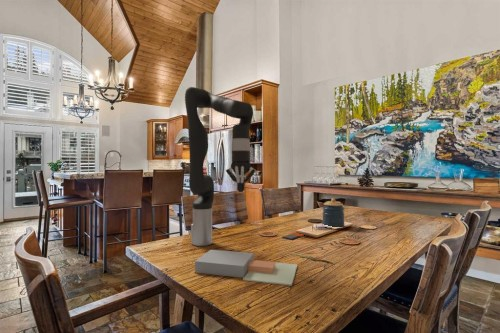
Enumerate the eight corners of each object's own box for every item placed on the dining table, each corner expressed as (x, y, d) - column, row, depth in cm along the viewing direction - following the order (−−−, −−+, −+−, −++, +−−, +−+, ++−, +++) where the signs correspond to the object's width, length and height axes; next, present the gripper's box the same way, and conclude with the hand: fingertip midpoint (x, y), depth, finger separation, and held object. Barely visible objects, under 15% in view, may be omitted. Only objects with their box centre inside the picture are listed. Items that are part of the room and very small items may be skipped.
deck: (195, 272, 99) (194, 261, 99) (210, 259, 113) (210, 249, 113) (243, 277, 95) (243, 266, 95) (253, 263, 108) (253, 253, 108)
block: (247, 271, 99) (247, 265, 99) (251, 265, 105) (251, 259, 105) (272, 273, 97) (272, 267, 97) (275, 267, 103) (275, 262, 103)
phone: (307, 233, 152) (291, 238, 141) (307, 235, 152) (291, 241, 141) (297, 231, 157) (281, 236, 145) (297, 233, 157) (281, 239, 145)
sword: (277, 252, 123) (277, 250, 123) (282, 250, 126) (282, 248, 126) (330, 265, 107) (330, 263, 107) (334, 262, 109) (334, 260, 109)
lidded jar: (323, 229, 165) (323, 199, 165) (321, 224, 178) (321, 196, 178) (346, 230, 163) (346, 199, 163) (342, 225, 176) (342, 197, 175)
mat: (243, 280, 93) (243, 278, 93) (256, 261, 110) (256, 260, 110) (291, 285, 88) (291, 284, 88) (297, 265, 106) (297, 264, 106)
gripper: (222, 149, 114) (222, 192, 114) (254, 149, 110) (254, 193, 110) (228, 150, 121) (228, 190, 121) (258, 150, 117) (258, 191, 117)
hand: (241, 191), depth 116 cm, fingers closed
